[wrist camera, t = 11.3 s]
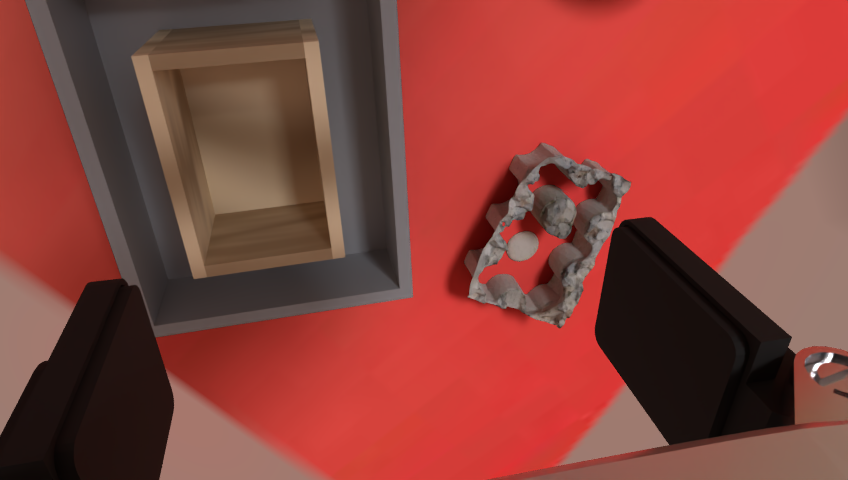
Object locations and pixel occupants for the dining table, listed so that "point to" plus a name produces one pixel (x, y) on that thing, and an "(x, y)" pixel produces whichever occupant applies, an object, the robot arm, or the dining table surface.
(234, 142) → the pine crate
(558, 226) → the egg carton
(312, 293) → the grey tote
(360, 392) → the dining table surface
